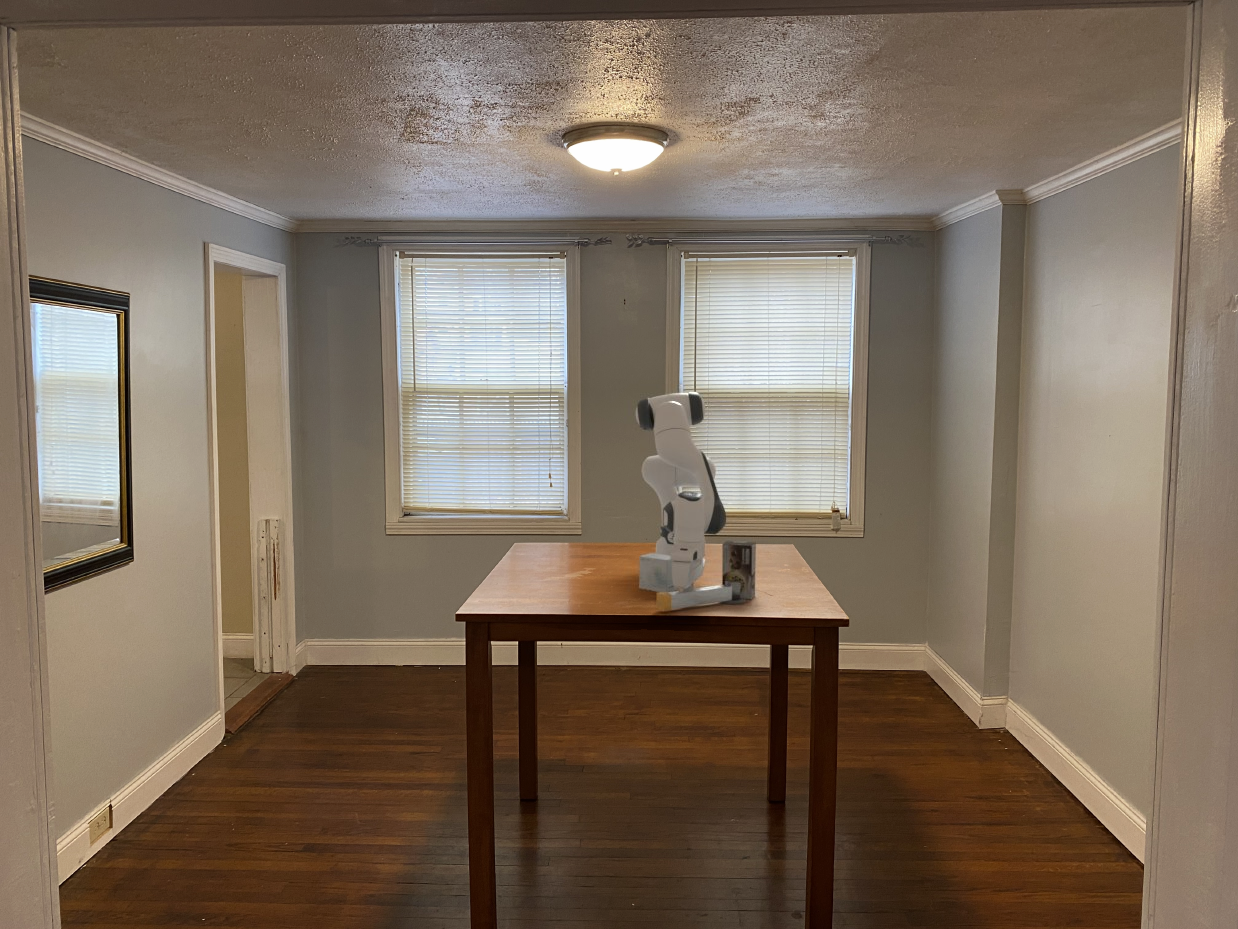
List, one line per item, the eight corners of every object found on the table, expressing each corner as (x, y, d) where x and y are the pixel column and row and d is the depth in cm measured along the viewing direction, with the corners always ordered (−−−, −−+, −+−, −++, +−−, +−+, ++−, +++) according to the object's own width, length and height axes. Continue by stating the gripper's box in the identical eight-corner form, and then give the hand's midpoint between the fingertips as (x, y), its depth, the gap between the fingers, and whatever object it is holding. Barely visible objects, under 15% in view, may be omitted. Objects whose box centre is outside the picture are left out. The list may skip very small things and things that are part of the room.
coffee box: (755, 595, 266) (756, 541, 265) (751, 599, 260) (752, 545, 259) (725, 592, 269) (726, 540, 268) (721, 597, 263) (722, 543, 262)
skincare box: (638, 589, 273) (638, 555, 273) (650, 585, 278) (650, 552, 278) (666, 593, 267) (667, 559, 266) (678, 590, 272) (678, 556, 271)
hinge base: (723, 598, 261) (723, 595, 261) (747, 600, 259) (747, 597, 259) (717, 603, 255) (718, 600, 255) (742, 605, 252) (742, 602, 252)
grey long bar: (733, 596, 260) (733, 579, 259) (743, 599, 256) (743, 582, 256) (655, 608, 245) (655, 589, 244) (665, 611, 241) (665, 592, 241)
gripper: (687, 543, 262) (687, 589, 263) (668, 555, 242) (667, 605, 244) (708, 544, 260) (707, 591, 261) (690, 557, 240) (689, 607, 242)
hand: (688, 598), depth 252 cm, fingers closed
